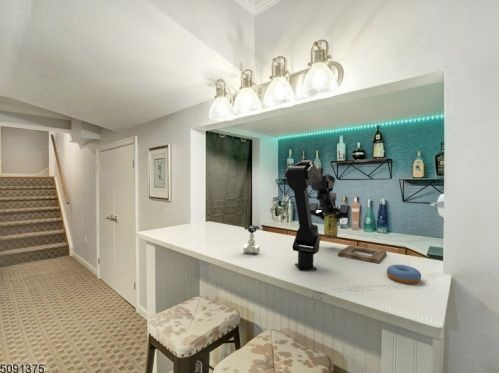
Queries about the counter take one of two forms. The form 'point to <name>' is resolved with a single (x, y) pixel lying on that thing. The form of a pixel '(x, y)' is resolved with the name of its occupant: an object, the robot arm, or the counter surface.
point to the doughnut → (404, 274)
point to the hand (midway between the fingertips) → (331, 221)
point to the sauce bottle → (330, 225)
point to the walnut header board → (375, 258)
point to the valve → (251, 241)
